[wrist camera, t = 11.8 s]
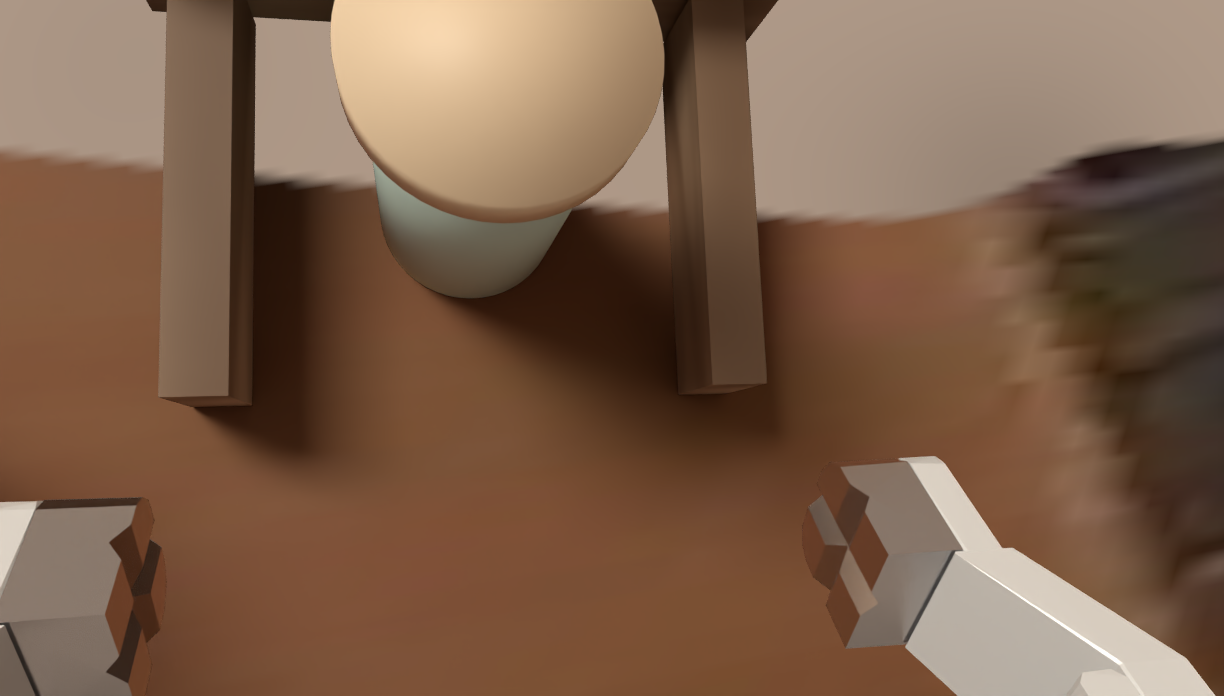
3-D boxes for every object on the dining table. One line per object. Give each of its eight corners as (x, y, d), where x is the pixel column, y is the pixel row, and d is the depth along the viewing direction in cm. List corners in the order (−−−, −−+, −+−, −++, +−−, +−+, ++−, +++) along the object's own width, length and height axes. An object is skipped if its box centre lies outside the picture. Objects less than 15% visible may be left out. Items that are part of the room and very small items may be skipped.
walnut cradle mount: (143, 408, 22) (46, 385, 16) (153, -48, 24) (68, -217, 18) (764, 392, 26) (866, 368, 20) (739, -6, 27) (828, -136, 21)
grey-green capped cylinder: (365, 314, 24) (329, 203, 14) (363, 113, 24) (330, -125, 15) (571, 312, 25) (672, 209, 15) (564, 121, 25) (656, -96, 16)
